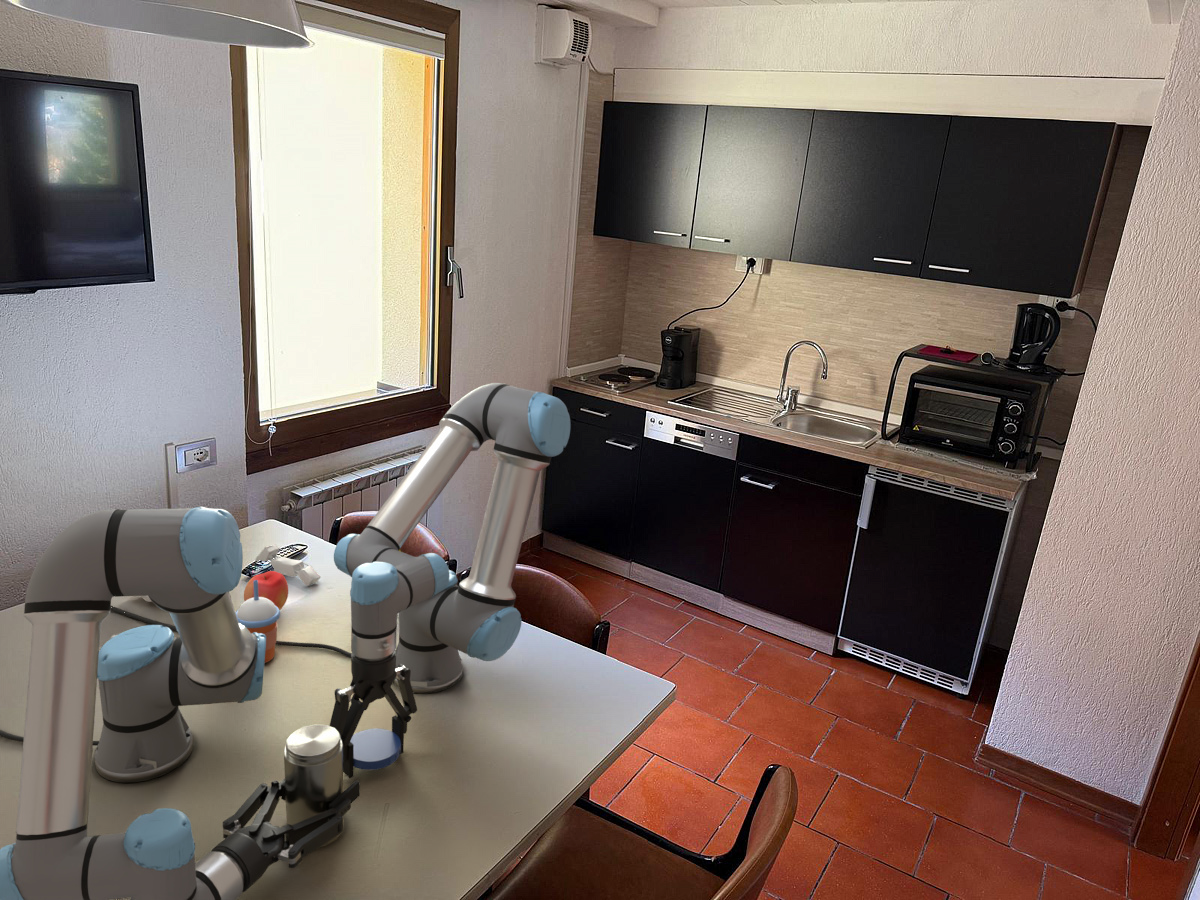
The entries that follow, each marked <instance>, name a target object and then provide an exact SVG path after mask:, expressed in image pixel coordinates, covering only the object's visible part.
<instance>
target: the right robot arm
mask: <svg viewBox="0 0 1200 900" xmlns="http://www.w3.org/2000/svg"><path fill="white" fill-rule="evenodd" d="M438 425H439V430H438V432H437V433H436V434H435V436H434V437H433V438H432V440H431V441H430V442H429V444H428V445H427V446H426V448H425V449H424V450H423V451H422V453H421V454H420V456H419V457H418V458H417V459H416V461H415V462H414V463H413V465H412V466H411V467H410V469H409V470H408V471H407V473H406V474H405V475H404V476H403V478H402V479H401V481H400V482H399V483H398V485H397V486H396V487H395V488H394V489H393V491H392V492H391V493H390V495H389V496H388V498H387V499H386V500H385V502H384V503H383V505H382V506H381V507H380V508H379V509H378V511H377V512H376V514H375V515H374V516H373V518H371V520H370V521H369V522H368V524H367V525H366V527H365V528H364V529H363V531H362V532H361V533H360V534H359V533H349V534H346V536H344V537H342V538H341V539H340V540H339V541H338V542H337V543H336V546H335V548H334V552H333V562H334V565H335V567H336V568H337V570H339V571H340V572H342V573H345V574H346V575H347V576H348V577H351V582H350V583H351V584H350V591H349V596H350V619H351V622H350V626H351V627H350V628H351V629H350V630H351V631H350V650H351V652H350V651H347V650H344V649H342V648H340V647H337V646H335V645H331V644H325V643H313V642H298V641H297V642H295V641H285V640H276V644H275V646H283V647H295V648H314V649H323V650H329V651H333V652H335V653H338V654H341V655H343V656H345V657H347V658H350V660H351V661H350V667H351V668H350V672H351V677H352V679H351V682H350V685H349V686H348V687H345V688H343V689H341V688H340V687H337V688H336V689H335V690H334V700H335V701H334V706H333V710H332V713H331V718H330V722H329V726H331V727H333V728H335V729H336V730H337V731H338V732H339V734H340V737H341V740H342V743H343V774H344V775H346V776H347V778H349V779H351V778H354V774H355V773H354V768H355V767H354V745H353V744H352V743H351V742H350V741H351V739H352V736H353V735H354V734H355V733H356V729H357V727H358V725H359V723H360V721H361V719H362V716H363V714H364V712H365V711H367V710H368V708H369V706H370V705H371V704H372V703H374V702H375V701H377V700H381V699H384V698H385V700H386V701H387V702H388V704H389V705H390V707H391V709H392V710H393V711H394V713H395V715H393V716H391V731H392V732H394V733H395V734H396V735H397V736H398V737H399V738H400V741H401V751H400V755H402V754H404V747H405V746H404V744H405V743H404V740H405V734H407V732H408V723H410V722H411V720H412V716H411V715H412V714H416V713H417V711H418V706H417V702H416V699H415V695H414V694H415V693H416V694H430V693H431V694H432V693H438V692H441V691H445V690H447V689H450V688H451V687H453V686H455V685H456V684H457V683H458V682H459V681H460V680H461V679H462V676H463V672H464V664H463V660H462V657H461V656H460V653H459V652H461V653H464V654H465V655H467V657H471V658H473V659H474V658H475V659H478V660H481V661H483V662H493V661H496V660H498V659H501V657H503V656H504V655H505V654H506V653H507V652H508V651H509V650H510V649H511V648H512V646H513V645H514V644H515V642H516V640H517V639H518V636H519V633H520V631H521V627H522V622H523V621H522V620H523V619H522V617H521V616H522V615H521V613H520V611H519V609H517V608H516V607H514V606H515V602H516V599H517V595H516V593H515V591H514V589H513V588H512V583H513V579H514V577H515V576H514V575H515V571H516V567H517V564H518V560H519V556H520V552H521V548H522V544H523V541H524V536H525V533H526V530H527V529H526V528H527V525H528V521H529V517H530V514H531V513H530V512H531V510H532V505H533V501H534V498H535V493H536V489H537V486H538V481H539V477H540V474H541V471H542V470H543V469H546V468H547V467H548V466H550V464H551V461H552V457H556V456H559V455H560V454H562V453H563V452H564V448H566V447H567V445H568V443H569V439H570V436H571V435H570V434H571V417H570V413H569V412H568V408H567V405H566V404H565V403H564V401H562V400H561V399H560V398H559V397H556V396H553V395H552V394H548V393H546V392H543V391H536V390H532V389H527V388H522V387H518V386H514V385H510V384H507V383H502V382H491V383H486V384H485V385H481V386H479V387H477V388H475V389H473V390H471V391H469V392H468V393H467V394H465V395H464V396H462V397H461V398H460V399H459V400H458V401H456V402H455V403H454V404H453V405H452V406H451V407H450V408H449V409H448V410H447V411H446V412H445V414H444V415H443V417H442V418H441V419H440V421H439V423H438ZM490 440H492V441H494V445H493V450H492V451H493V453H494V454H495V456H496V458H497V465H496V469H495V472H494V476H493V481H492V485H491V489H490V492H489V497H488V501H487V504H486V508H485V512H484V516H483V519H482V524H481V527H480V532H479V535H478V539H477V544H476V547H475V553H474V556H473V559H472V563H471V568H470V572H469V575H468V577H466V578H464V579H462V580H461V581H460V582H459V581H458V580H459V579H458V577H457V574H456V572H454V571H453V570H450V569H449V565H448V564H447V562H446V560H445V559H444V558H443V557H442V556H441V555H439V554H437V553H435V552H428V553H424V554H423V553H422V554H420V555H418V556H413V555H411V554H408V553H405V552H403V551H401V552H400V551H399V550H401V548H402V546H403V545H404V544H405V542H406V541H407V540H408V538H409V537H410V536H411V534H412V532H413V531H414V530H415V529H416V527H417V526H418V525H419V523H420V522H421V520H422V519H423V518H424V516H425V515H426V514H427V513H428V511H429V510H430V508H431V507H432V506H433V504H434V503H435V501H436V500H437V498H438V497H439V496H440V495H441V493H442V492H443V491H444V489H445V488H446V486H447V485H448V484H449V483H450V480H451V479H452V478H453V477H454V475H455V474H456V472H457V471H458V470H459V468H460V467H461V466H462V464H463V463H464V462H465V460H466V459H467V458H468V456H469V455H470V454H471V452H477V451H479V450H480V448H481V447H482V445H483V444H484V443H485V442H487V441H490ZM458 583H459V584H458ZM111 607H112V608H110V611H112V612H115V613H117V614H119V615H120V614H121V615H123V616H126V617H129V618H131V619H135V620H138V621H141V622H144V623H147V624H149V625H162V626H164V627H168V628H170V629H171V630H172V631H175V632H178V631H177V629H176V627H175V625H172V624H169V623H166V622H161V621H158V620H154V619H151V618H149V617H145V616H142V615H138V614H136V613H133V612H130V611H127V610H125V609H122V608H119V607H116V606H114V607H113V605H111ZM124 612H125V613H124ZM397 627H398V629H397ZM397 630H398V643H397ZM393 684H394V685H395V686H396V687H398V689H399V691H400V692H399V693H400V696H401V700H402V702H401V700H399V698H398V697H397V695H396V693H395V690H394V689H393V688H392V685H393ZM402 703H403V704H402Z"/></svg>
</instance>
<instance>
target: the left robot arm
mask: <svg viewBox="0 0 1200 900" xmlns="http://www.w3.org/2000/svg"><path fill="white" fill-rule="evenodd" d="M243 553H244V552H243V544H242V541H241V532H240V529H239V525H238V523H237V520H236V519H235V517H234V515H232V513H230V512H229V511H227V510H226V509H223V508H208V507H205V506H196V507H188V508H185V507H184V508H154V509H153V508H148V509H147V508H141V509H140V508H138V509H137V508H136V509H134V508H133V509H132V508H131V509H120V508H119V509H118V508H110V509H101V510H96V511H95V512H94V511H93V512H92V513H91V512H90V513H89V514H86V515H84V516H82V517H80V518H78V519H76V520H75V521H73V522H72V523H70V524H69V525H67V526H66V527H65V528H64V529H63V530H62V531H61V532H60V533H59V534H58V535H57V536H56V537H55V538H54V539H53V540H52V541H51V542H50V544H49V545H48V547H46V549H45V550H44V552H43V553H42V555H41V556H40V558H39V560H38V562H37V564H36V565H35V567H34V569H33V572H32V574H31V577H30V579H29V582H28V585H27V588H26V593H25V599H24V610H23V617H24V618H25V619H26V620H27V621H28V622H29V623H30V624H31V625H32V628H31V629H32V631H31V642H30V656H29V666H28V667H29V668H28V680H27V694H26V705H25V718H24V728H23V729H24V730H23V736H20V735H16V734H14V733H9V732H6V731H4V730H2V729H0V736H1V737H3V738H5V739H8V740H11V741H17V742H21V743H23V744H22V755H21V768H20V779H19V793H18V805H17V815H16V816H17V817H16V830H15V833H16V837H15V842H13V843H12V844H6V845H4V846H2V847H1V848H0V900H120V899H128V898H130V900H237V899H239V897H241V895H242V894H243V893H245V892H246V891H247V890H249V889H250V888H251V887H252V886H253V885H254V884H255V883H257V882H258V880H260V879H261V878H262V877H263V875H264V873H266V871H267V869H268V868H269V867H270V866H271V865H273V864H276V863H278V862H280V861H282V862H285V863H287V864H288V865H287V866H288V868H289V869H295V868H297V866H298V865H299V864H300V863H301V862H302V861H303V859H305V858H306V857H307V856H309V855H310V854H312V853H313V852H315V851H316V850H318V849H320V848H322V847H321V846H322V845H324V844H325V843H327V842H328V841H330V840H331V839H333V838H334V837H336V836H337V835H339V834H340V833H341V834H342V833H343V832H344V829H343V815H344V816H345V815H346V814H347V813H348V812H349V811H350V810H351V808H352V804H353V803H354V802H355V801H356V800H358V799H359V797H360V796H361V782H360V780H357V779H355V780H354V781H353V782H352V783H351V784H350V785H349V786H348V787H346V789H343V792H342V793H341V794H340V795H339V796H338V797H337V798H336V799H334V800H333V801H332V802H331V803H330V804H329V810H327V811H324V812H322V813H320V814H317V815H315V816H313V817H310V818H308V819H306V820H303V821H301V822H298V823H296V824H294V825H290V824H287V823H286V824H285V825H283V826H279V825H278V826H277V825H273V824H272V823H271V819H272V817H273V815H274V813H275V810H276V808H277V806H278V804H279V802H280V798H281V800H283V801H286V795H285V778H283V779H282V780H281V781H279V780H273V781H271V782H270V785H268V784H267V783H266V782H262V783H260V784H259V785H258V786H257V788H256V789H255V790H254V791H253V792H252V793H251V794H250V796H249V797H248V798H247V799H246V800H245V801H244V803H243V804H241V806H240V807H239V808H237V810H236V811H235V812H234V814H232V815H231V816H229V817H228V818H227V819H225V820H224V821H222V835H223V836H222V837H223V840H221V841H220V842H219V843H218V844H217V845H215V846H214V847H213V848H212V849H211V850H210V851H208V852H207V853H206V854H204V855H203V856H202V857H200V859H199V860H196V857H195V852H196V843H195V839H194V836H193V829H192V823H191V820H190V818H189V817H188V816H187V814H185V813H184V812H183V811H181V810H179V809H177V808H170V807H163V808H157V809H154V810H153V811H152V812H150V813H143V814H141V815H139V816H138V817H136V818H135V819H134V820H133V821H131V822H130V824H129V825H128V826H127V829H126V831H125V832H120V833H118V832H117V833H110V834H109V833H108V834H99V835H89V836H88V822H89V821H88V820H89V807H90V806H89V805H90V790H91V777H92V759H93V747H96V746H97V747H96V748H95V751H94V765H95V769H96V771H97V773H98V774H99V775H100V776H101V777H102V778H104V779H106V780H108V781H112V782H116V783H127V784H129V783H139V782H145V781H150V780H153V779H157V778H158V777H161V776H164V775H166V774H168V773H170V772H172V771H174V770H176V769H177V768H178V767H180V766H181V765H182V764H184V763H185V762H186V761H187V759H188V758H189V757H190V755H191V754H192V752H193V748H194V739H193V732H192V730H191V729H190V727H189V725H188V723H187V721H186V719H185V718H184V715H183V714H182V712H181V710H180V707H183V706H184V707H186V706H199V705H213V704H214V705H215V704H226V703H227V704H228V703H237V704H243V703H245V702H248V701H250V702H251V701H256V700H258V699H260V697H261V696H262V694H263V686H264V676H265V675H264V673H265V650H266V636H265V635H264V634H262V633H257V632H252V633H250V631H249V630H248V629H247V628H246V627H245V626H243V625H242V624H240V623H238V619H237V616H236V613H235V612H236V610H235V607H234V603H233V600H232V596H231V594H230V592H232V591H234V589H235V588H237V587H238V585H239V583H240V580H241V578H242V572H243V562H244V561H243V560H244V558H243V557H244V555H243ZM142 596H149V598H150V599H151V601H152V602H151V603H153V604H154V605H155V607H157V608H159V609H160V610H163V611H164V612H168V613H169V615H170V618H171V620H172V622H173V624H174V626H175V627H176V629H177V631H176V632H177V633H178V636H177V637H175V633H174V632H173V630H171V629H170V628H168V627H164V626H162V625H153V624H147V625H142V626H137V627H133V628H130V629H127V630H125V631H123V632H120V633H119V634H115V635H116V636H115V637H113V638H112V637H110V639H108V640H107V641H106V642H105V643H104V644H103V645H102V646H101V647H100V640H101V626H102V625H101V624H102V622H103V621H104V620H105V619H106V618H107V617H108V616H109V615H111V610H110V608H111V606H112V598H113V597H118V598H119V597H142ZM97 685H98V690H99V697H100V706H101V715H102V724H103V725H102V728H101V733H100V737H99V740H94V733H95V731H94V730H95V717H96V701H97V700H96V699H97ZM257 812H258V813H257ZM255 814H256V815H255ZM254 816H255V817H254ZM253 817H254V818H253ZM252 818H253V821H252V823H251V824H250V825H248V826H246V825H247V824H248V823H249V822H250V821H251V819H252ZM328 819H329V820H328ZM319 847H320V848H319Z"/></svg>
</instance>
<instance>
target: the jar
mask: <svg viewBox="0 0 1200 900" xmlns="http://www.w3.org/2000/svg"><path fill="white" fill-rule="evenodd" d="M283 765H284V766H283V767H284V768H283V769H284V779H285V795H286V800H285V815H286V816H285V817H286V818H285V819H286V820H285V821H286V825H287V824H290V825H294V824H296V823H298V822H301V821H303V820H306V819H308V818H310V817H313V816H315V815H317V814H320V813H322V812H324V811H327V810H329V804H330V803H331V802H332V801H333V800H334V799H336V798H337V797H338V796H339V795H340V794H341V793H342V792H343V791H344V772H343V743H342V740H341V737H340V734H339V732H338V731H337V730H336V729H335V728H333V727H331V726H330V725H328V724H319V723H317V724H309V725H305V726H302V727H300V728H298V729H295V730H294V731H293V732H292V733H290V735H289V736H288V737H286V741H285V746H284V749H283ZM328 820H329V819H328ZM344 827H345V814H344V815H343V830H344ZM341 835H342V833H340V834H339V835H337V836H336V837H334V838H333V839H331V840H330V841H328V842H327V843H325V844H324V845H322V846H321V847H319V848H318V849H320V848H323V847H326V846H328V845H330V844H333V843H334V842H335V841H336V840H338V838H339V837H340V836H341Z"/></svg>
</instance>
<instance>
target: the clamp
mask: <svg viewBox="0 0 1200 900" xmlns="http://www.w3.org/2000/svg"><path fill="white" fill-rule="evenodd" d="M280 549H281V547H279V546H278V545H277V544H272V545H266V546H264V547H263V549H262V550H261V551H260V552H259V554H258V555H257V556H256V557H255V559H254V562H255V563H256V561H259V560H262V561H268V560H271V562H270V563H269V564H271V565H272V566H273V568H274V571H275V572H278V573H281V574H282V575H283V576H288V577H292V578H296V577H298V578H299V579H300V580H301V582H303V584H304V585H305V587H309V586H312V585H314V584H316V583H318V582H319V580H320V579H321V578H322V577H321V575H320V574H319V573H318V572H317V570H315V569H314V568H313V566H312V565H310V564H309V565H308V564H307V563H305V562H304V561H303V560H301V559H300V560H299V559H292V558H289V557H285V556H278V553H279V551H280ZM273 558H274V559H273ZM272 559H273V560H272ZM305 566H306V567H305ZM270 571H271V570H270Z"/></svg>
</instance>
